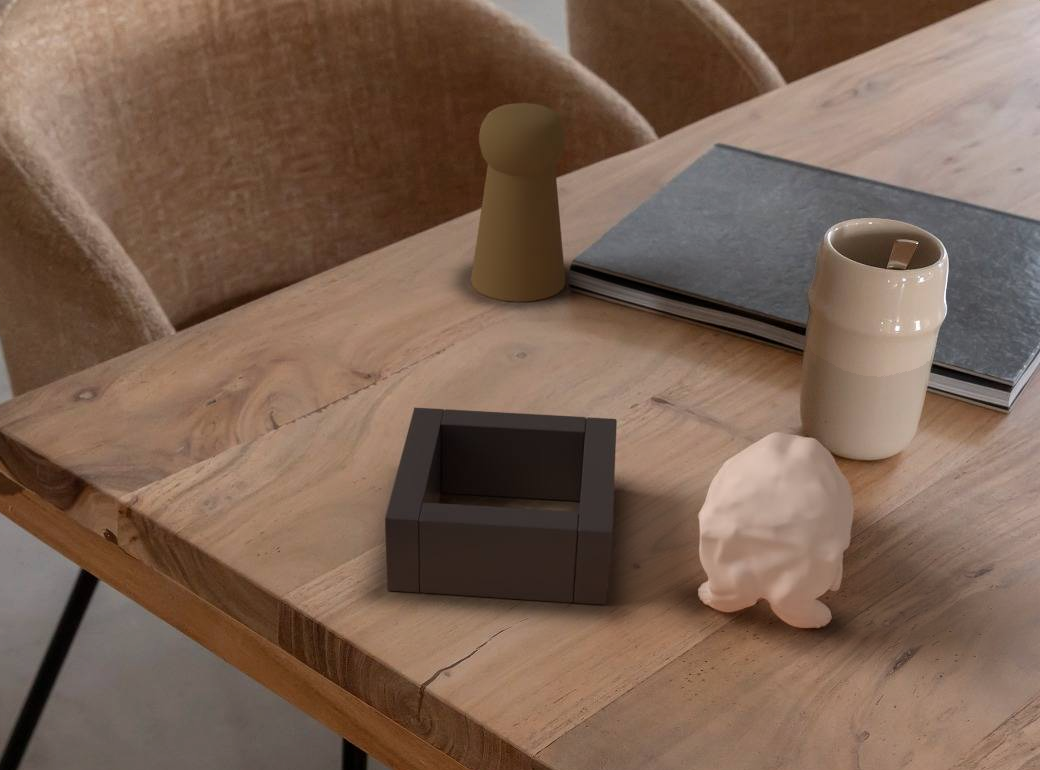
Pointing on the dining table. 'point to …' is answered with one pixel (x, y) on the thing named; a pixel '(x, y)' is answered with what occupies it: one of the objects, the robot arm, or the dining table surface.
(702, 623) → the dining table surface
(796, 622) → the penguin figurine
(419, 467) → the socket base
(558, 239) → the cork
